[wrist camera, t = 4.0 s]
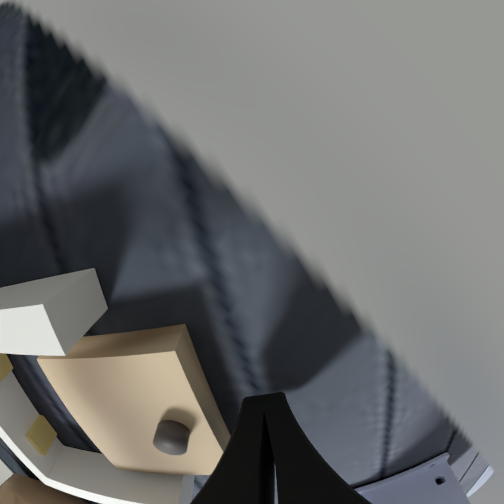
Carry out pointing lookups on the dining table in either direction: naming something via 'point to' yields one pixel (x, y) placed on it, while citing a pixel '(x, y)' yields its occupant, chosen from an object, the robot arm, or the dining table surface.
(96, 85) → the dining table surface
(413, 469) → the robot arm
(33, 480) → the squash
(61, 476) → the cabinet frame
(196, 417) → the door panel
